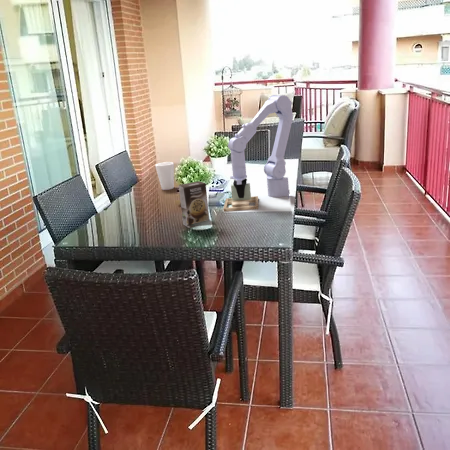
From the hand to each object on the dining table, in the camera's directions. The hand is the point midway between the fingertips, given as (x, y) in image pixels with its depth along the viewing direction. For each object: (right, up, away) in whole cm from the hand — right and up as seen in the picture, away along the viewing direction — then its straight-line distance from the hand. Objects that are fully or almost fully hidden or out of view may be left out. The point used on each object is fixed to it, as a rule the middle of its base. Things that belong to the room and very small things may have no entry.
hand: (241, 196), depth 207 cm
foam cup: (-37, +7, +45) cm, 59 cm away
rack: (0, -5, -4) cm, 6 cm away
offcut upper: (-1, -5, -8) cm, 10 cm away
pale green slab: (0, -3, +1) cm, 3 cm away
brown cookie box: (-18, -12, -19) cm, 29 cm away
